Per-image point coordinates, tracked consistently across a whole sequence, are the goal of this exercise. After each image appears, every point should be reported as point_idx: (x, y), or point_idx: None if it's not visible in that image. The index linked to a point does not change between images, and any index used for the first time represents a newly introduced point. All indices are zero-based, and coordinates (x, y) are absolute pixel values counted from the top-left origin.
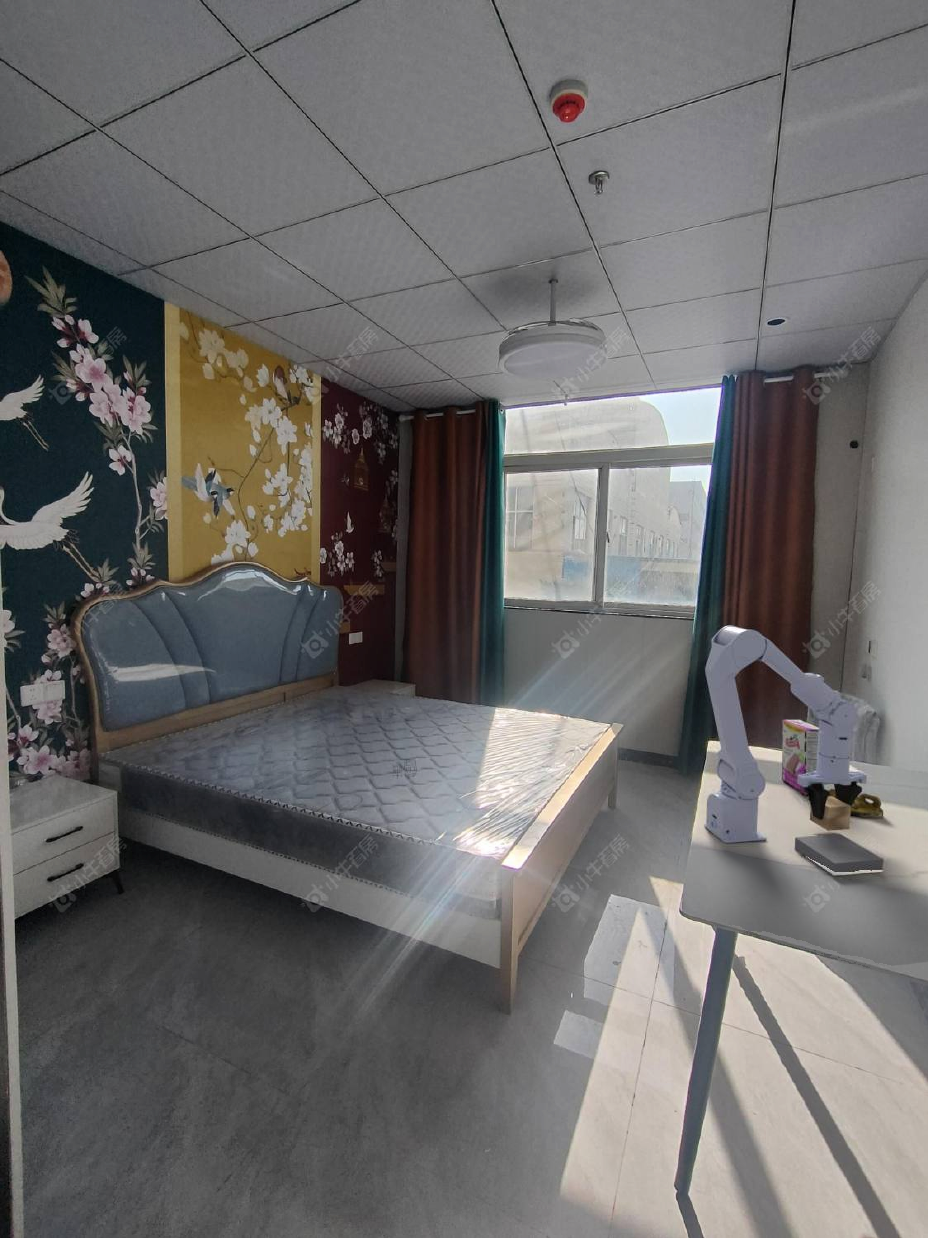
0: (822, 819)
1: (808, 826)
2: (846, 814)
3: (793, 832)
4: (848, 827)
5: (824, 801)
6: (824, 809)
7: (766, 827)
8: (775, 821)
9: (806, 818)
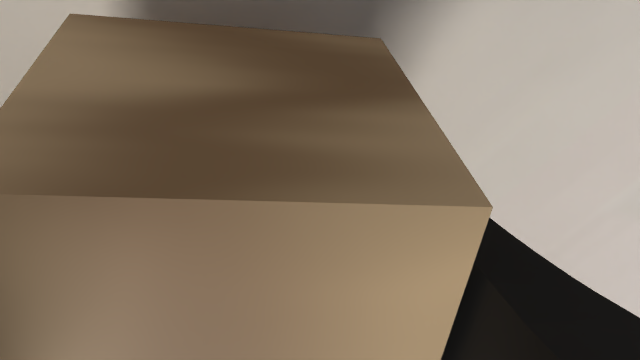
0: None
1: None
2: (89, 110)
3: (502, 184)
4: (82, 23)
5: (577, 331)
6: None
7: (605, 273)
8: None
9: None
